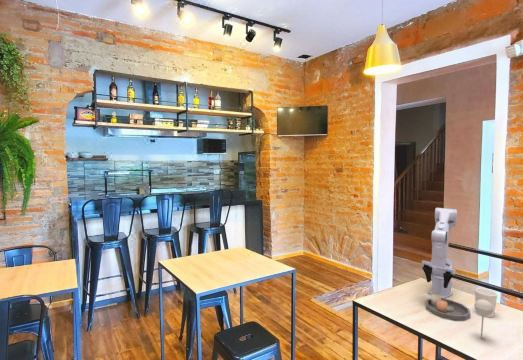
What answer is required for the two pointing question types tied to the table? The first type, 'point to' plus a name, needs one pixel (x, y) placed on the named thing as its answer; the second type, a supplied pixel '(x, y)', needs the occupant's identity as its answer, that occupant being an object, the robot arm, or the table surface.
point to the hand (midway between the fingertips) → (437, 284)
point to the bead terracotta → (441, 306)
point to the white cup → (486, 298)
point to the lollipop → (483, 309)
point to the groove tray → (450, 310)
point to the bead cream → (435, 299)
